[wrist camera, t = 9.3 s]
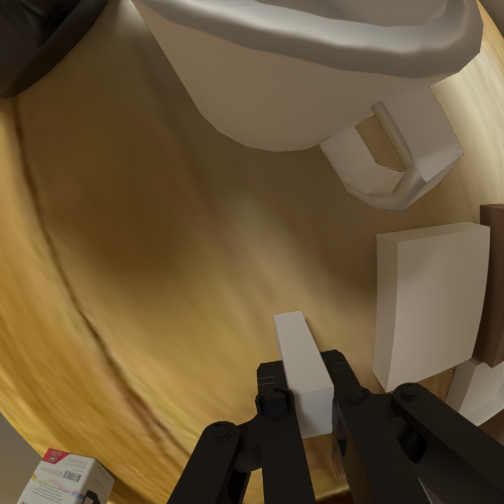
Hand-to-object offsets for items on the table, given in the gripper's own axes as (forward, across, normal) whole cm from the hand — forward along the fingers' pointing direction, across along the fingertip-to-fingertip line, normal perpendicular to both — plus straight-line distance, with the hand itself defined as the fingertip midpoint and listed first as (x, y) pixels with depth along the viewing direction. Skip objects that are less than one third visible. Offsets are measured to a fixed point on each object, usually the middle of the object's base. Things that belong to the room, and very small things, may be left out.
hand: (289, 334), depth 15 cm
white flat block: (+2, +10, 0) cm, 10 cm away
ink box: (+2, -26, -18) cm, 31 cm away
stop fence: (+1, +17, 0) cm, 17 cm away
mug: (+2, +2, +14) cm, 14 cm away
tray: (+1, +21, -12) cm, 24 cm away
